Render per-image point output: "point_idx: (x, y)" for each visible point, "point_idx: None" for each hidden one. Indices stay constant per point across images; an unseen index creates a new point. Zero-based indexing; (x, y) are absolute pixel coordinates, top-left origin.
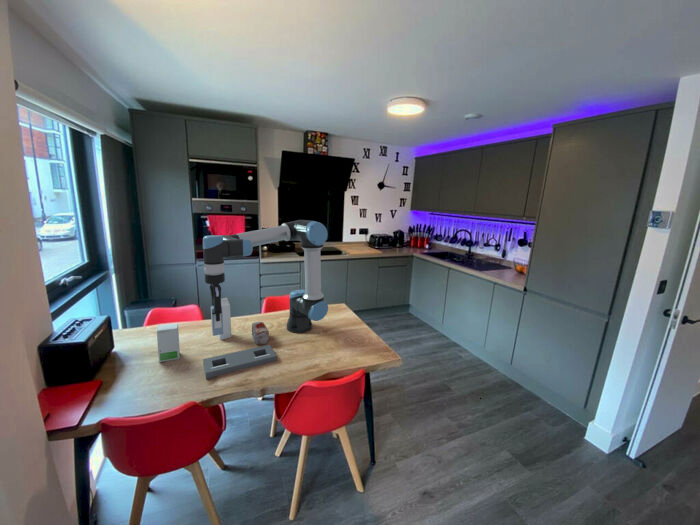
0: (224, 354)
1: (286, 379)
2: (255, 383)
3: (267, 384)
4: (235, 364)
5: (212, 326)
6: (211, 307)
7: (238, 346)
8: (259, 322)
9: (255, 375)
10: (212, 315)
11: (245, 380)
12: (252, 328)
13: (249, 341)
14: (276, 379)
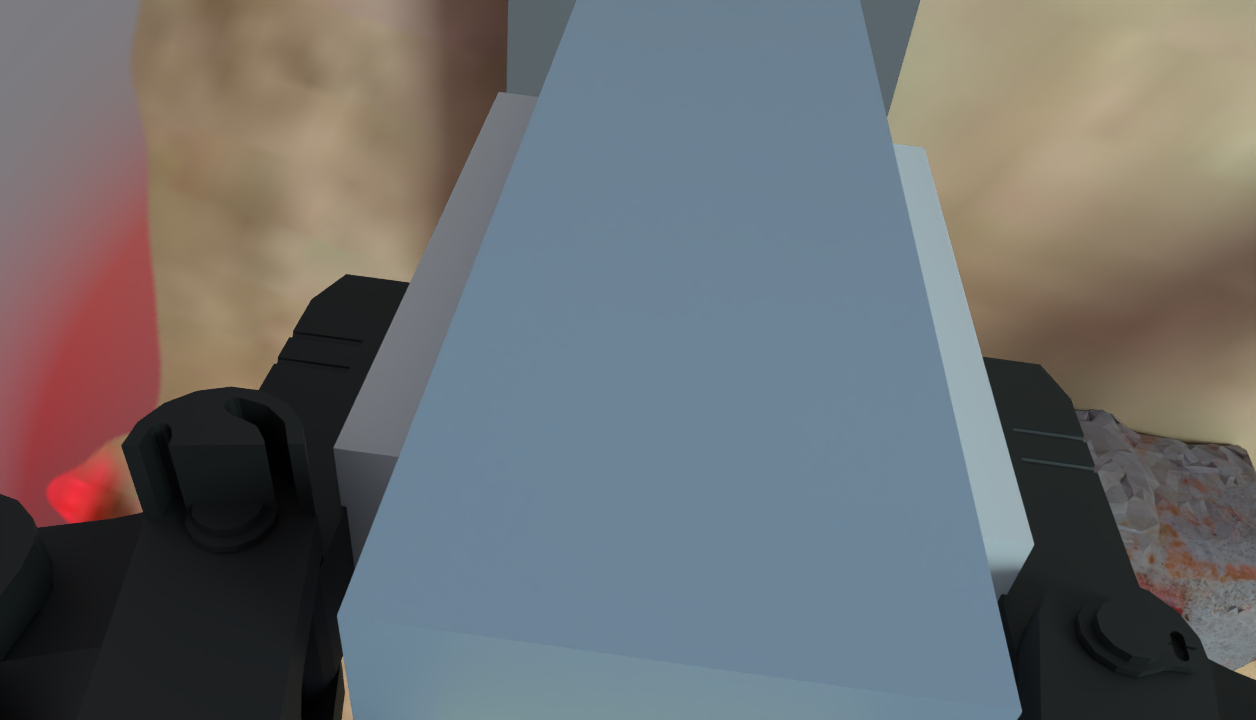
0: (913, 10)
1: (178, 361)
2: (201, 123)
3: (148, 209)
4: (540, 60)
5: (604, 69)
6: (701, 681)
7: (1133, 236)
8: (1231, 652)
9: (351, 173)
10: (452, 342)
11: (295, 54)
12: (1230, 533)
13: (1143, 373)
14: (206, 300)
